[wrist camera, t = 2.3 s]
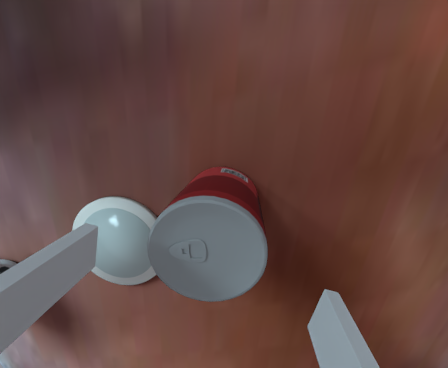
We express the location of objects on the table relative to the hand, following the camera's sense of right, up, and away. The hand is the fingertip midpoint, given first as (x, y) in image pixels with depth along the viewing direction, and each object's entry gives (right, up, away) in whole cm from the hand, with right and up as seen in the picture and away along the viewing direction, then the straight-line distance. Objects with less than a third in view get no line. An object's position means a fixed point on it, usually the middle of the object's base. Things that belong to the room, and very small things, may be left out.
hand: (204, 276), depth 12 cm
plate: (-12, -2, +15) cm, 19 cm away
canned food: (+1, +4, +12) cm, 13 cm away
